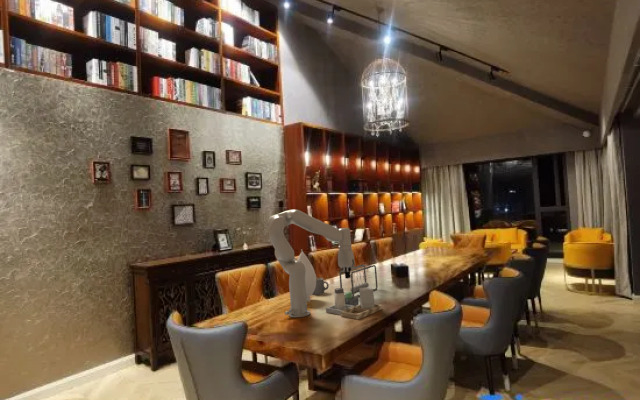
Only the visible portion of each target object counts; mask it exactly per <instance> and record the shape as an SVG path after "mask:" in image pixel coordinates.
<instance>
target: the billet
mask: <svg viewBox="0 0 640 400" xmlns="http://www.w3.org/2000/svg"><path fill="white" fill-rule="evenodd" d="M344 290H345V289H344V288H343V287H342V288H340V287H338V288H337V287H336V288H334V292H333V296H334V305H335V309H337V310H343V309H346V308H345V291H344Z"/></svg>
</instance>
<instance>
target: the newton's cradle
mask: <svg viewBox="0 0 640 400" xmlns="http://www.w3.org/2000/svg"><path fill="white" fill-rule="evenodd" d="M371 268H374V279H375V288H372V289H373V292H375V291H377V290H378V275H377V274H378V273H377V272H378V271H377V266H376V264H373V265H372V264H371V265H369V264H367V265H366V264H359V265H356V266H354V269H351V272H350V276H351V277H350V278H349V279H350V284H351V287H350V291H349V292H352V296H355V294H356V293H358V292H359V288H367V287H370V286H369V285H370V284H369V283H368V282H367V278H368V277H367V271H366V270H368V269H371ZM361 272H363V273H362V274H363V278H361V277H362V276H361V275H362V274H361ZM342 273H345V272H344V270H343V269H342V270H340V271H339V284H340V285H339V288H343V281H342V280H343V279H342ZM358 273H359V279H363V280H360V281H357V283H355V285H354V282H356V281H355V279H354V277H355V274H356V280H359V279H358ZM363 281H364V282H363ZM355 297H358V298H360V294H358V295H356V296H355Z"/></svg>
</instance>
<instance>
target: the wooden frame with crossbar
mask: <svg viewBox="0 0 640 400" xmlns="http://www.w3.org/2000/svg"><path fill="white" fill-rule="evenodd" d="M374 306H375V307H374V308H371V309H365V308H361V306H360V304H359V305H357V306H355V307H352V308H350V309H347V310H344V311H342V312H341V315H340V317H341V318H349V319H353V320H361V319H362V318H365V317H367V316H370V315H372V314H374V313H376V312H379V311H381V310H383V305H382V304H378V303H374Z"/></svg>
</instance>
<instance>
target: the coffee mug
mask: <svg viewBox="0 0 640 400" xmlns="http://www.w3.org/2000/svg"><path fill="white" fill-rule="evenodd" d="M325 284H326V286H325ZM329 287H330V286H329V282H328V281H327V280H326V281H325V280H324V278H323V277H316V287H315V290H314V292H313V293H312V295H313V296H319V295H323V294H325V291H326V290H328V289H329ZM312 295H311V296H312Z"/></svg>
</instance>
